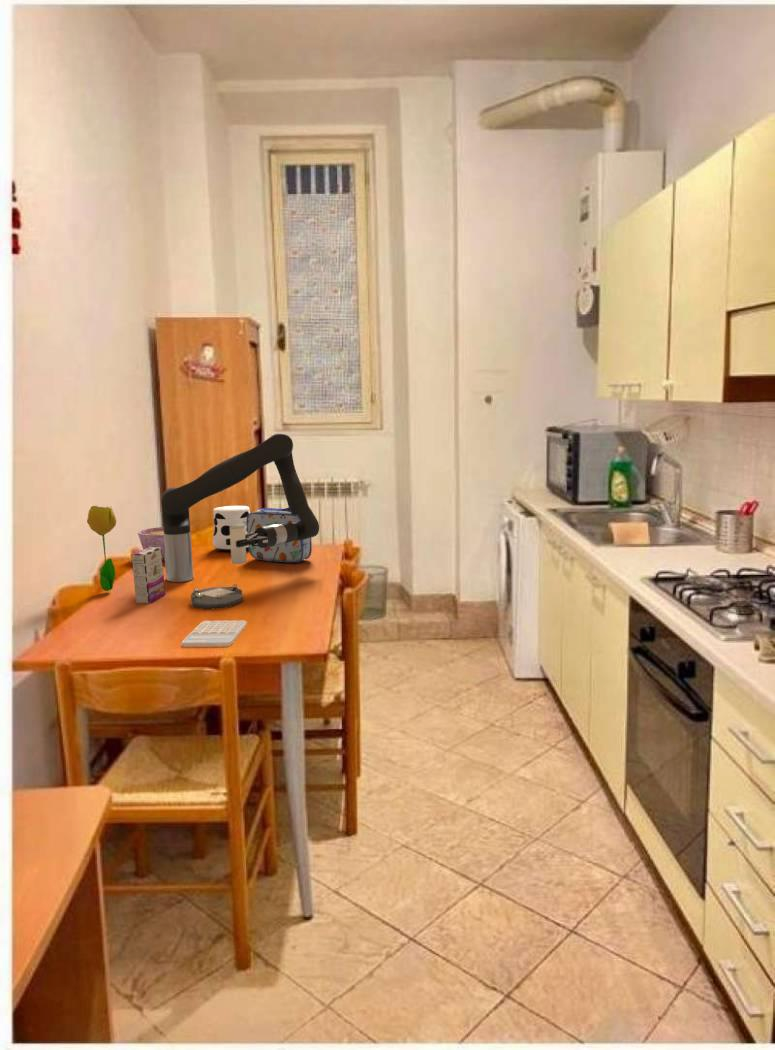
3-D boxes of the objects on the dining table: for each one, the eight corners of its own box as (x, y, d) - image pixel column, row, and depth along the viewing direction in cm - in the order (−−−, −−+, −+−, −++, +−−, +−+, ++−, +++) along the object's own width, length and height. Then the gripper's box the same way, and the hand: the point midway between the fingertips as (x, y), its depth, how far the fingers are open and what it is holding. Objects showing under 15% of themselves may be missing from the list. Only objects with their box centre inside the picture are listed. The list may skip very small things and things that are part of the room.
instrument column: (228, 562, 258) (226, 525, 255) (240, 560, 261) (238, 523, 259) (237, 564, 254) (235, 526, 252) (249, 562, 258) (247, 524, 256)
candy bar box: (152, 594, 255) (148, 546, 253) (165, 595, 254) (162, 546, 252) (134, 603, 245) (130, 553, 242) (149, 604, 244) (145, 553, 241)
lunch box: (318, 560, 303) (316, 505, 300) (306, 565, 294) (303, 509, 290) (259, 556, 314) (256, 503, 310) (245, 561, 304) (242, 506, 301)
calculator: (248, 625, 220) (247, 619, 219) (230, 648, 200) (229, 641, 200) (202, 626, 220) (202, 619, 220) (180, 648, 201) (179, 641, 200)
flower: (111, 596, 255) (104, 507, 250) (90, 595, 256) (81, 507, 251) (125, 589, 263) (118, 503, 258) (104, 589, 265) (96, 503, 260)
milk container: (262, 548, 329) (260, 507, 326) (228, 555, 317) (226, 512, 314) (238, 544, 341) (236, 504, 338) (205, 550, 329) (202, 509, 326)
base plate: (181, 603, 243) (180, 590, 242) (222, 593, 255) (221, 580, 254) (211, 612, 233) (210, 598, 232) (252, 600, 244) (252, 587, 244)
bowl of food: (129, 560, 312) (127, 532, 310) (168, 551, 328) (166, 525, 326) (161, 565, 301) (159, 536, 299) (200, 556, 317) (198, 528, 315)
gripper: (257, 523, 271) (217, 530, 259) (284, 527, 262) (244, 534, 249) (258, 543, 273) (219, 551, 260) (284, 548, 263) (245, 556, 251)
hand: (231, 543), depth 255 cm, fingers closed on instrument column, 5 cm apart
